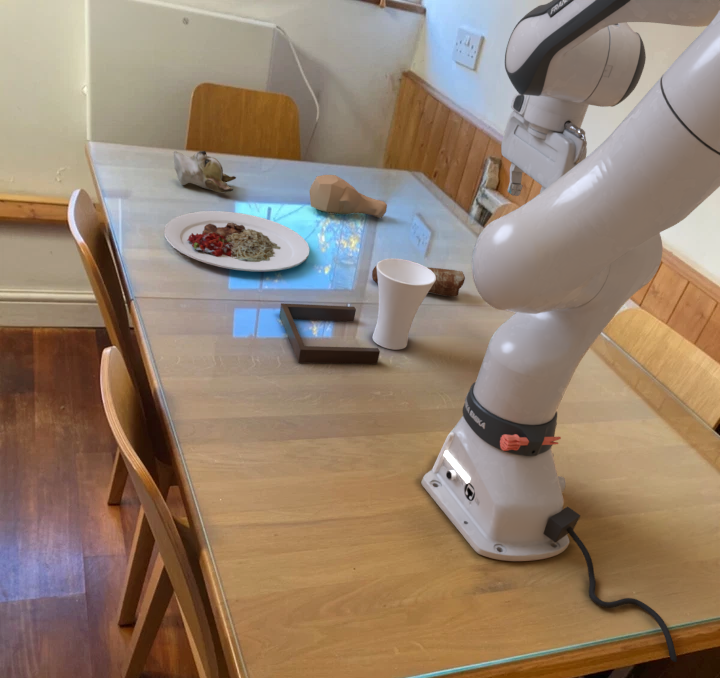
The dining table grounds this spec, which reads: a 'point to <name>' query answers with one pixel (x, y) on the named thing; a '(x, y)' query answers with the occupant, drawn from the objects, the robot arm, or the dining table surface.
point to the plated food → (236, 241)
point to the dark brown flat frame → (316, 352)
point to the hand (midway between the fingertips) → (524, 204)
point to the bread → (441, 281)
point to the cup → (399, 299)
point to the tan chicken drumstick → (342, 198)
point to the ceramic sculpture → (201, 171)
